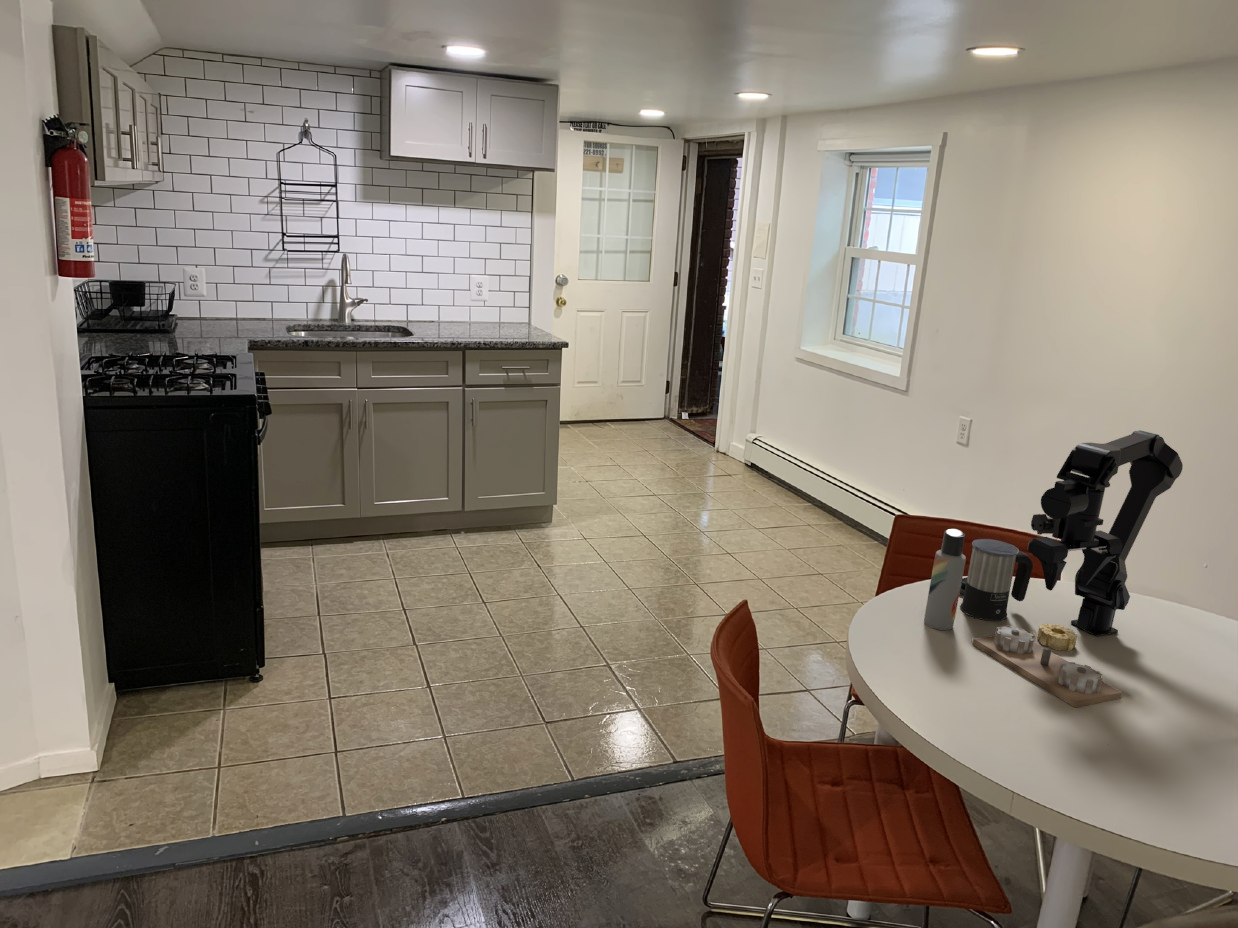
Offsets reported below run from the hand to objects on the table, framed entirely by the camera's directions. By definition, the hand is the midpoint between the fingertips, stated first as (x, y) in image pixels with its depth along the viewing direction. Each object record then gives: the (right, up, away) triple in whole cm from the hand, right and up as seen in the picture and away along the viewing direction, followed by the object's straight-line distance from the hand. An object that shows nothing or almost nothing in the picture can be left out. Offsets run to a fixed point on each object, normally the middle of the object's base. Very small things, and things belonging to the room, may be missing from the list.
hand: (1066, 586), depth 178 cm
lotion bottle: (-22, -9, +8) cm, 25 cm away
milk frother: (-10, -6, +19) cm, 23 cm away
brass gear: (-1, -11, +3) cm, 12 cm away
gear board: (-9, -14, -9) cm, 19 cm away
